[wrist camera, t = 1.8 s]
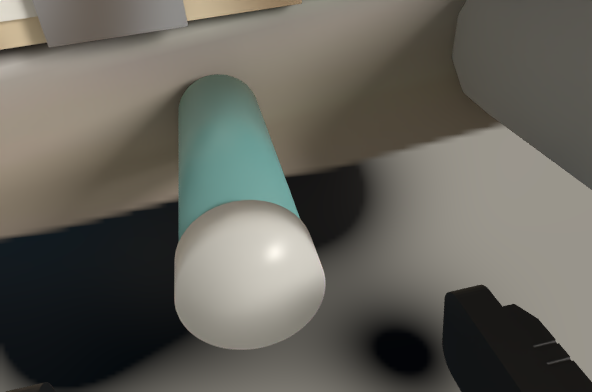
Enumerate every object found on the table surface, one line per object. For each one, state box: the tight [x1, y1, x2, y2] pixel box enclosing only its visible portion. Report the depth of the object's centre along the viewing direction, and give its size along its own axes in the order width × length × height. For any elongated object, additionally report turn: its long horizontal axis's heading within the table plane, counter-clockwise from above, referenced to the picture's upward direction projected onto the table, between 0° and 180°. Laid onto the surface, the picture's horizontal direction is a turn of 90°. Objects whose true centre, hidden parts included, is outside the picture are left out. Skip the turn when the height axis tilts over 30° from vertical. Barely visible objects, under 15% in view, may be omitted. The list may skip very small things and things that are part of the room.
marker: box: [174, 74, 325, 350], centre depth 18 cm, size 4×4×12 cm
